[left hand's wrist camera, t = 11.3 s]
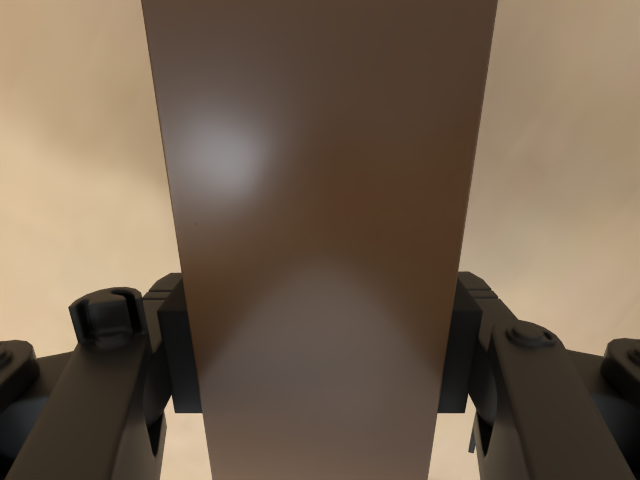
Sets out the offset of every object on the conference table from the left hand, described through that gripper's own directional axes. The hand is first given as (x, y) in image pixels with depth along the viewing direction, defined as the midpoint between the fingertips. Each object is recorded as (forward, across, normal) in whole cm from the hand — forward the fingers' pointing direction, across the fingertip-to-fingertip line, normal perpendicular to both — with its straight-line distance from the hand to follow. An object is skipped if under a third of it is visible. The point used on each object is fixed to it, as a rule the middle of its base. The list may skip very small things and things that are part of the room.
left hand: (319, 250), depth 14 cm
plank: (+1, 0, -22) cm, 22 cm away
